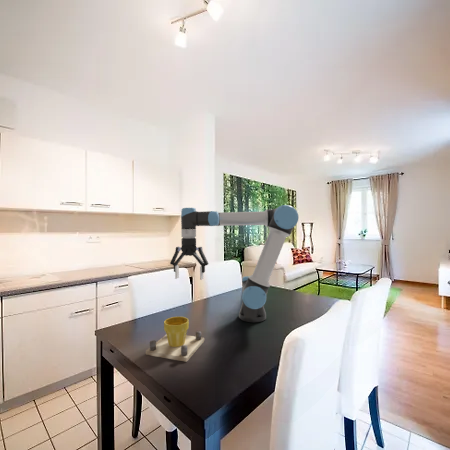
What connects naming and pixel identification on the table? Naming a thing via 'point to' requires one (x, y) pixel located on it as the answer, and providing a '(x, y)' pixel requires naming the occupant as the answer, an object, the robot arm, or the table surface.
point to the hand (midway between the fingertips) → (189, 278)
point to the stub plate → (176, 348)
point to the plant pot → (176, 330)
